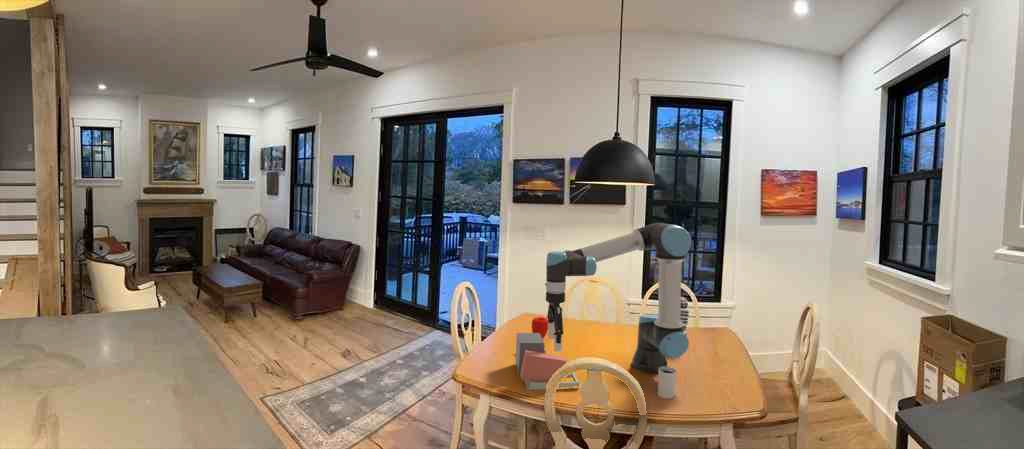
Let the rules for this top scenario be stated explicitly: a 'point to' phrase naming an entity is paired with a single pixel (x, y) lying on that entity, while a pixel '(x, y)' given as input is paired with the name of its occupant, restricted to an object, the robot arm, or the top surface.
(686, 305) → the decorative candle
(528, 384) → the tray
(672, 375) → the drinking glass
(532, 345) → the dispenser
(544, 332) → the apple
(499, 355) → the top surface
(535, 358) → the pink rectangular box
